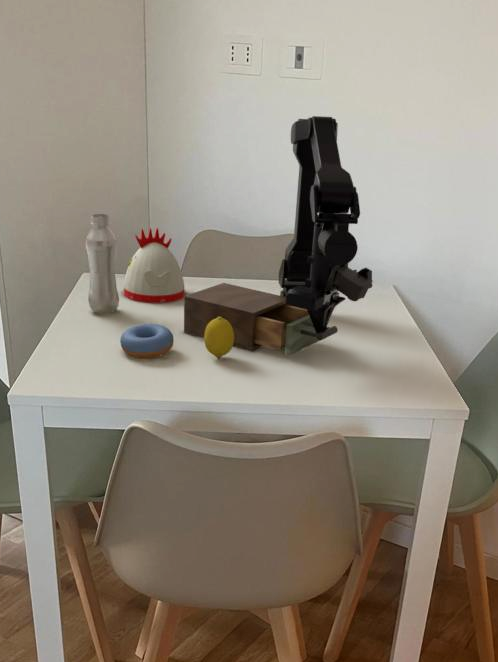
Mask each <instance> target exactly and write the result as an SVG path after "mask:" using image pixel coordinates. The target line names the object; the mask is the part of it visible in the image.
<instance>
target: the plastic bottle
mask: <svg viewBox="0 0 498 662" xmlns="http://www.w3.org/2000/svg"><path fill="white" fill-rule="evenodd" d="M90 220H91V221H90V225H91V226H92V228H91V229H90V230H89V232H88V234H87V236H86V238H85V249H86V254H87V258H88V267H89V290H88V296H87V298H88V305H89V308H90V309H91V311H93V312H95V313H103V314H105V313H113V312H115V311H116V310H117V309H118V308H119V305H120V296H119V291H118V287H117V279H116V257H117V247H118V242H117V239H116V236H115V235H114V233H113V232H112V230H111V229H110V226H111V222H110V215H109V214H106V213H94V214H91V217H90Z"/></svg>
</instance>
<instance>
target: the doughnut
mask: <svg viewBox="0 0 498 662" xmlns="http://www.w3.org/2000/svg"><path fill="white" fill-rule="evenodd" d="M174 340H175V339H174V335H173V332H172V331H171V330H170V329H169V328H168V327H166V326H164V325H162V324H159V323H140V324H136V325H132V326H130V327H128V328H126V330H124V331H123V332H122V333H121V335H120V339H119V341H120V342H119V343H120V347H121V349H122V351H123V352H124V353H125V354H126V355H128V356H130V357H133V358H135V359H152V358H158V357H161V356H164V355H165V354H168V352H170V351H171V349H172V348H173V347H174Z"/></svg>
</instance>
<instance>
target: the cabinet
mask: <svg viewBox="0 0 498 662" xmlns="http://www.w3.org/2000/svg"><path fill="white" fill-rule="evenodd" d="M183 304H184V305H183V333H184V334H187V335H190V336H195V337H197V338H201V339H204V334H205V330H206V327H207V325H208V323H209V322H210V321H212V320H213V319H216V318H217V317H222V318H223V319H225V320H227V321H228V322H229V323H230V324H231V326H232V328H233V332H234V343H233V346H232V347H234V348H238V349H242V350H245V351H250V352H253V351H256V350H257V349H260V348H262V347H264V346H263V345H259V344H256V343H254V338H255V319H256V316H257V315H260V314H262V313H265V312H267V311H269V310H272V309H274V308H277V307H279V306H282V305H284V304H285V297H284V296H280V294H274V293H270V292H265V291H262V290H257V289H252V288H248V287H244V286H240V285H236V284H231V283H227V282H222V283H219V284H216V285H214V286H209V287H206V288H204V289H201V290H198V291H196V292H192V293H188V294H186V295H184V297H183Z"/></svg>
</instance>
